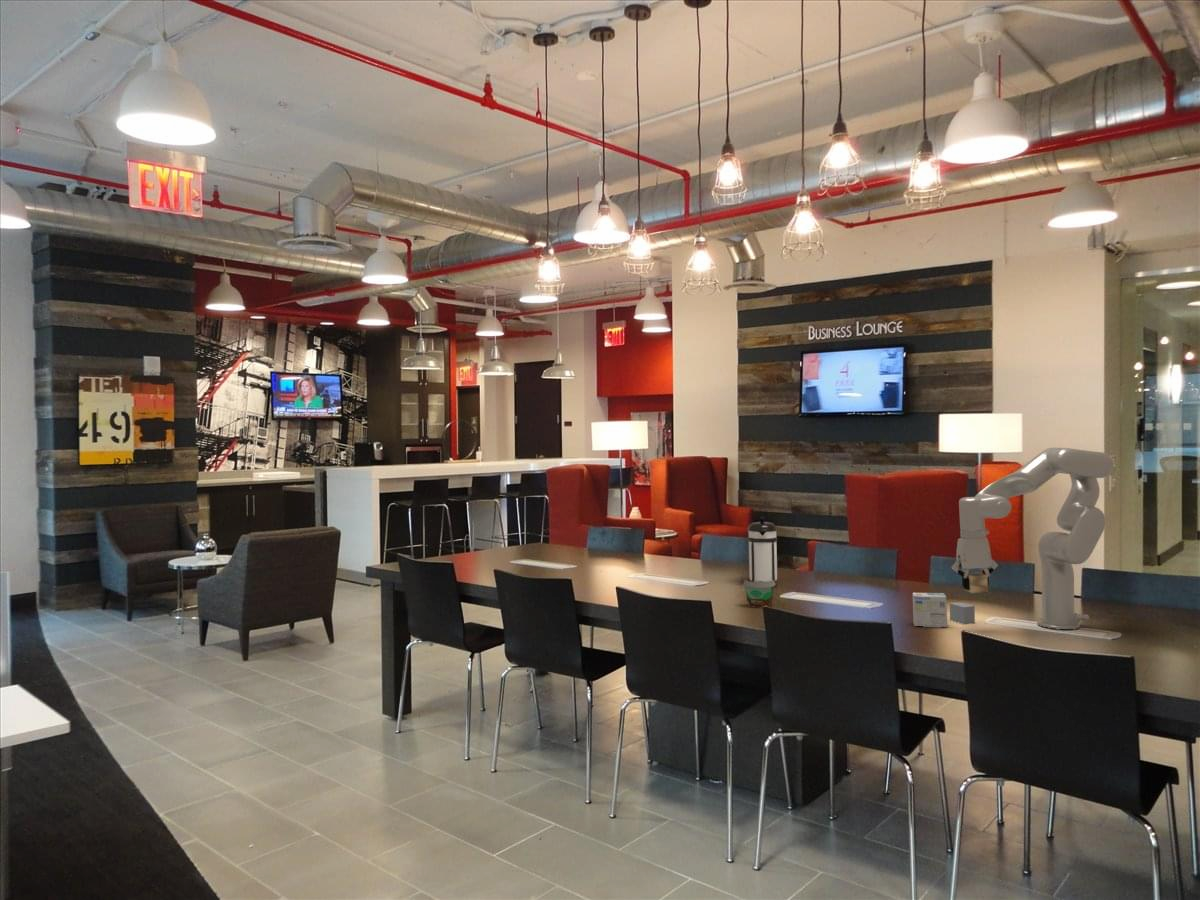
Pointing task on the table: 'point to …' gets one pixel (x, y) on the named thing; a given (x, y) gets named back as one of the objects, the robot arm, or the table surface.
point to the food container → (759, 593)
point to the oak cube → (977, 582)
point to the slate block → (962, 613)
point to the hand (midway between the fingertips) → (975, 588)
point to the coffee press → (762, 551)
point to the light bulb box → (929, 609)
